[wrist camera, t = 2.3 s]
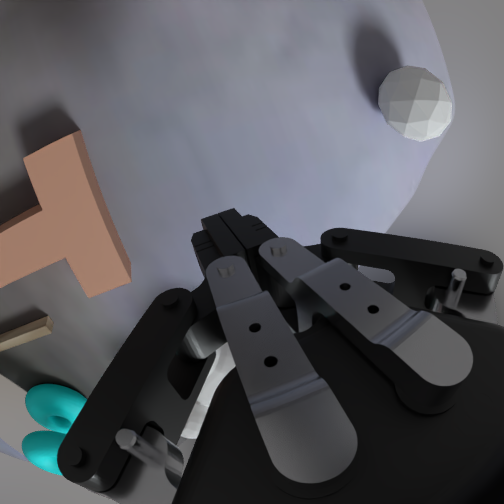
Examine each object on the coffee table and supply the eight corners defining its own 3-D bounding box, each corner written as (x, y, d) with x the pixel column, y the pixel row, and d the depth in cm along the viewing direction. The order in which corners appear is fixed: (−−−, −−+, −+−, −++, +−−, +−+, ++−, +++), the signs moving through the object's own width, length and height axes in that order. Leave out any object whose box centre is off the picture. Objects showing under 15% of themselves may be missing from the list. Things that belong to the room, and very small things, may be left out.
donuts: (67, 482, 22) (7, 455, 16) (63, 424, 30) (13, 391, 24) (117, 472, 23) (52, 444, 17) (108, 408, 31) (56, 369, 25)
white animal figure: (192, 293, 31) (137, 401, 29) (233, 320, 24) (162, 449, 22) (245, 319, 36) (193, 414, 33) (291, 345, 29) (227, 453, 27)
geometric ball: (384, 97, 28) (445, 126, 25) (362, 134, 26) (433, 169, 23) (392, 45, 21) (463, 75, 18) (371, 73, 19) (459, 112, 16)
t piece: (-31, 193, 14) (-48, 206, 12) (80, 129, 17) (72, 133, 14) (27, 304, 21) (20, 324, 18) (130, 262, 23) (131, 281, 21)
